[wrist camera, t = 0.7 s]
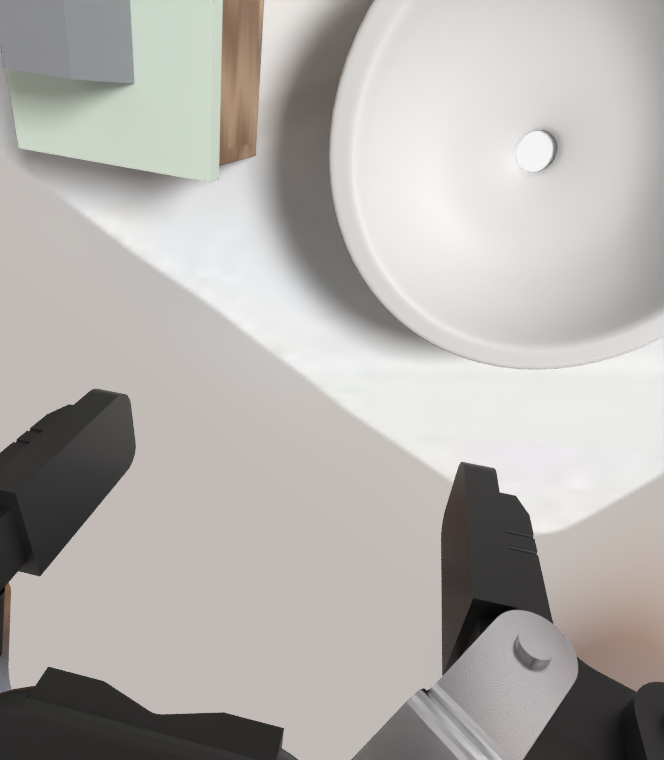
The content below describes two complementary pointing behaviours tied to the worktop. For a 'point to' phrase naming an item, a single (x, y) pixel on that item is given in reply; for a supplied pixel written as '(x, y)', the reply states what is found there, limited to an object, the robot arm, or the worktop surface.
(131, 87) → the lid
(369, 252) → the white sink basin
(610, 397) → the worktop surface
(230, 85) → the walnut box
